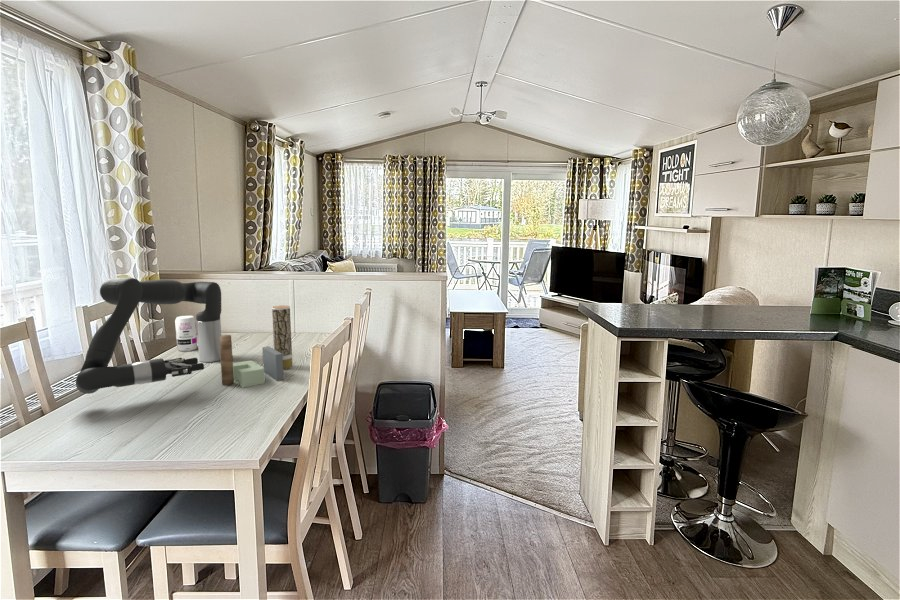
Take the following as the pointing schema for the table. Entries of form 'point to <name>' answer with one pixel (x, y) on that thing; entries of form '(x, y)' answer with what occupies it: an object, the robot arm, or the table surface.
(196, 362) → the robot arm
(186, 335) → the supplement can
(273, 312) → the brown bark cylinder
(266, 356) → the wall
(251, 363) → the cradle
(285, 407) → the table surface
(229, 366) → the brown banded cylinder
